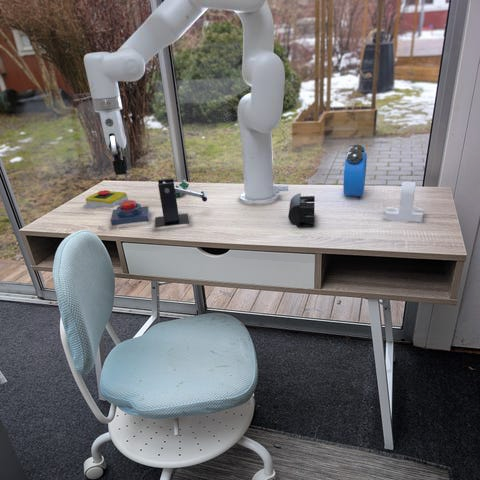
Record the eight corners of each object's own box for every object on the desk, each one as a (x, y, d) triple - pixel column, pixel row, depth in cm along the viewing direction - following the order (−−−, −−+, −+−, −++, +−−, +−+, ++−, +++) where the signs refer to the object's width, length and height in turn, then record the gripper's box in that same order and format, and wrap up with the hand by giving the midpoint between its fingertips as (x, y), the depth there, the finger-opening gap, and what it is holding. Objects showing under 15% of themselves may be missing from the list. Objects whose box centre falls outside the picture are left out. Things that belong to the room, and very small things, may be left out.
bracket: (188, 217, 146) (182, 175, 139) (189, 226, 140) (183, 183, 133) (155, 220, 145) (148, 179, 138) (155, 230, 139) (148, 187, 132)
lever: (204, 197, 142) (206, 190, 141) (206, 203, 138) (208, 195, 137) (161, 187, 139) (162, 179, 138) (161, 193, 134) (162, 185, 133)
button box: (149, 213, 151) (147, 200, 149) (149, 224, 144) (146, 209, 141) (114, 218, 150) (111, 204, 148) (112, 228, 143) (109, 214, 140)
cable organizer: (422, 221, 130) (427, 185, 125) (384, 219, 133) (388, 184, 128) (423, 215, 134) (428, 179, 129) (386, 212, 137) (390, 178, 132)
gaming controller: (172, 204, 163) (182, 192, 159) (164, 196, 162) (174, 184, 159) (182, 195, 170) (192, 183, 167) (174, 187, 169) (184, 176, 166)
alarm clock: (362, 202, 146) (365, 152, 138) (341, 201, 148) (343, 152, 140) (364, 188, 156) (368, 141, 148) (345, 188, 158) (347, 141, 150)
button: (136, 205, 147) (135, 199, 146) (135, 209, 143) (134, 204, 142) (122, 206, 146) (121, 201, 145) (121, 211, 143) (120, 205, 142)
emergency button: (97, 186, 166) (132, 189, 160) (100, 198, 168) (134, 202, 162) (79, 194, 159) (115, 198, 153) (82, 207, 161) (118, 211, 155)
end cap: (290, 215, 141) (289, 193, 137) (314, 215, 140) (314, 192, 136) (288, 228, 133) (288, 205, 129) (314, 228, 132) (314, 204, 128)
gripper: (119, 107, 122) (133, 178, 132) (123, 98, 136) (135, 163, 146) (90, 110, 121) (106, 181, 131) (96, 101, 135) (111, 166, 145)
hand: (121, 171), depth 139 cm, fingers open, 3 cm apart
